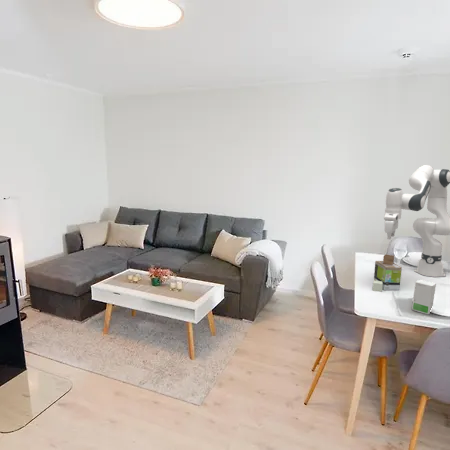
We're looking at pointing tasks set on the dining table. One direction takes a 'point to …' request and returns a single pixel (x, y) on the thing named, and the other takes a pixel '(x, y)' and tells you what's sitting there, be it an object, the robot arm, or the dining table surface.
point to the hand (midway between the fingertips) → (390, 237)
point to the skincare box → (423, 296)
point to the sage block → (377, 286)
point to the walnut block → (388, 259)
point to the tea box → (388, 275)
